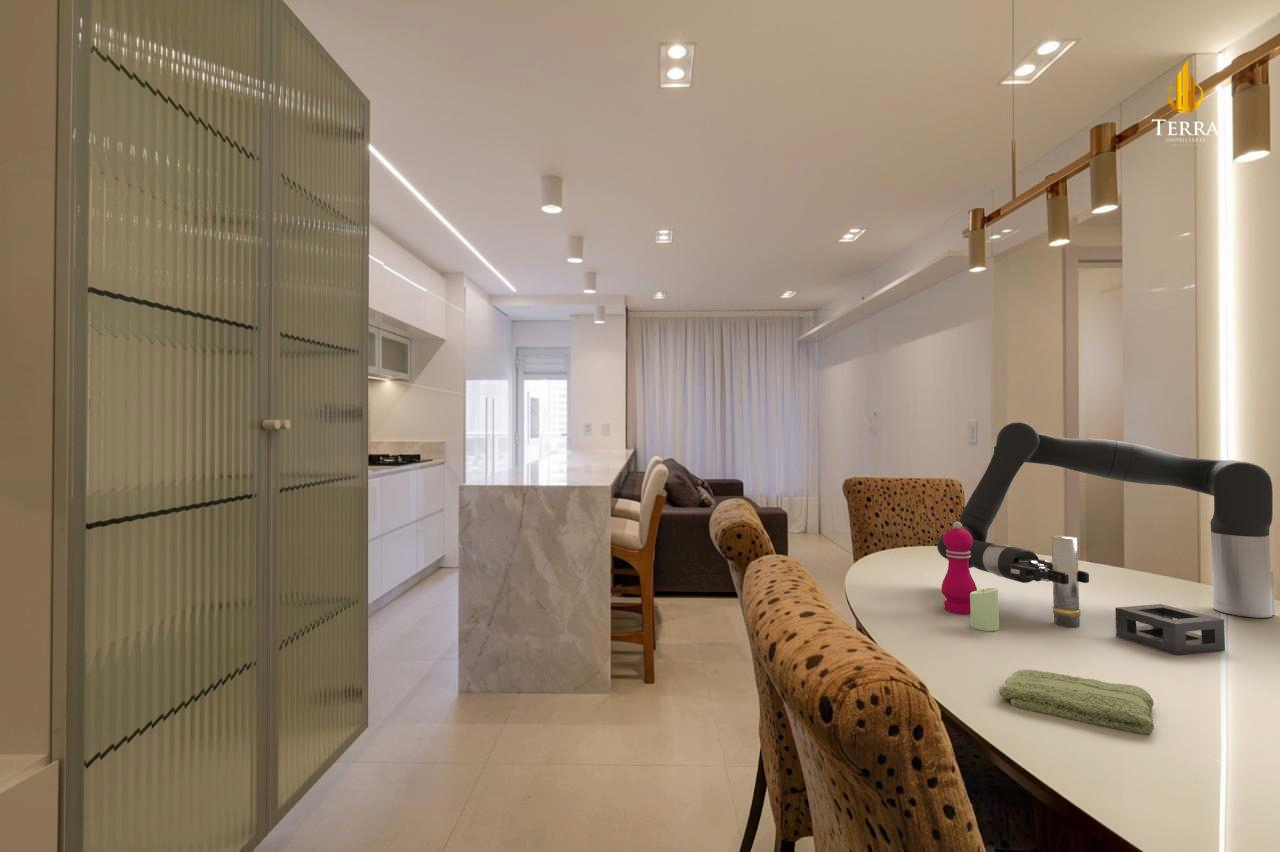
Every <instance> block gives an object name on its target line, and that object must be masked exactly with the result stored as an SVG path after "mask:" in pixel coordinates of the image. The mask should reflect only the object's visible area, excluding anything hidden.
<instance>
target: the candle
mask: <svg viewBox="0 0 1280 852" xmlns="http://www.w3.org/2000/svg"><path fill="white" fill-rule="evenodd" d="M970 613H971V614H970V627H972V628H973V629H975V630H979V631H983V632H996V631H999V627H1000V626H999V625H1000V624H999V622H1000V621H999V619H1000V617H999V589H998V588H996V587H993V588H991V587H990V588H984V589H977V591H974V592H971V593H970Z"/></svg>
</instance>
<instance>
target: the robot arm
mask: <svg viewBox="0 0 1280 852" xmlns="http://www.w3.org/2000/svg"><path fill="white" fill-rule="evenodd" d="M995 444H996V445H995V448H994V451H993V454H992V457H991V459H990V461H989V463H988V465H987V468H986V470H985V472H984V474H983V475H982V478H980V481H979V482H978V484H977V486H976V487H975V489H974V490H973V492H972V493H971V496H970V497H969V499H968V501H967V503H966V504H965V507H964V508H963V510H962V512H961V514H960V516H959V518H958V522H960V523H961V524H962V528H964V530H966V531H968V532H969V533H970V534H971V536H972V538H973V545H972V547H971V548H970V549H969V551H970V552H971V553H970V555H971V557H970V558H969V569H971V568H975V569H978V570H980V571H982V572H987V573H989V574H992V575H995V576H997V577H1001V578H1005V579H1007V580H1011V581H1013V582H1014V581H1015V582H1019V583H1024V584H1028V583H1031V582H1032V581H1035V582H1042V581H1043V582H1047V583H1048V582H1052V583H1053V582H1056V583H1060V584H1068V583H1069V576H1068V574H1067V573H1063V572H1058V571H1054V570H1052V561H1049V560H1047V559H1041V558H1039V557H1038V555H1037V554H1036V553H1035V552H1034V551H1032V550H1030V549H1026V548H1023V547H1017V546H1013V545H1008V544H1007V545H1006V544H998V543H993V542H987V538H988V532H989V529H990V527H991V525H992V524H993V523H994V520H995V518H996V516H997V514H998V512H999V511H1000V508H1001V507H1002V504H1003V502H1004V499H1005V498H1006V495H1007V492H1008V490H1009V488H1010V486H1011V484H1012V482H1013V481H1014V479H1015V477H1016V475H1017V474H1018V473H1019V470H1020V469H1021V467H1022V466H1023V465H1024V464H1025V463H1028V464H1039V465H1040V464H1041V465H1049V466H1054V467H1059V468H1063V469H1068V470H1070V471H1074V472H1079V473H1084V474H1088V475H1092V476H1097V477H1100V478H1105V479H1111V480H1116V481H1122V482H1128V483H1134V484H1141V485H1142V484H1143V485H1156V486H1157V485H1158V486H1170V487H1177V488H1181V489H1186V490H1191V491H1193V492H1194V491H1195V492H1198V493H1202V494H1206V495H1209V496H1212V497H1213V515H1212V518H1211V520H1210V522H1209V523H1210V544H1211V545H1210V547H1211V548H1210V549H1211V572H1212V573H1211V574H1212V576H1211V577H1212V600H1213V601H1212V604H1213V607H1212V608H1213V609H1214V610H1216V611H1218V612H1221V613H1224V614H1229V615H1233V616H1239V617H1247V618H1262V619H1263V618H1264V619H1265V618H1272V617H1273V615H1275V614H1276V610H1275V606H1276V605H1275V585H1274V584H1275V582H1274V581H1275V580H1274V570H1272V567H1271V547H1270V545H1271V544H1270V527H1271V525H1272V522H1273V500H1274V499H1273V493H1274V492H1273V483H1272V482H1273V481H1272V478H1271V476H1270V473H1268V471H1266V470H1265V468H1263V467H1262V466H1261V465H1259V464H1256V463H1254V462H1250V461H1244V460H1234V459H1233V460H1232V459H1229V460H1228V459H1226V460H1224V459H1211V458H1201V457H1191V456H1184V455H1179V454H1175V453H1171V452H1169V451H1165V450H1162V449H1159V448H1154V447H1151V446H1147V445H1141V444H1138V443H1131V442H1127V441H1126V442H1125V441H1122V440H1121V441H1120V440H1113V439H1105V438H1065V437H1057V436H1052V435H1049V434H1044V433H1039V432H1038V431H1037V430H1036V428H1035V427H1034V426H1032V425H1031V424H1029V423H1027V422H1021V421H1016V422H1011V423H1009V424H1006V425H1005V426H1004V427H1003V428H1001V429H1000V430H999V432H998V434H997V437H996V443H995ZM943 536H944V534H943V535H941V536H940V538H939V539H938V541H937V542H936V543H937V544H936V547H937V551H938V553H939V555H940V556H942V557H943V559H946V560H947V561H948V556H946V554H947V553H946V550H947V549H948V548H947V547H946V545H945V544H944V542H943ZM1078 582H1079V583H1082V584H1089V583H1090V574H1089V572H1088V571H1084V570H1079V569H1078Z"/></svg>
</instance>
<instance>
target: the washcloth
mask: <svg viewBox="0 0 1280 852" xmlns="http://www.w3.org/2000/svg"><path fill="white" fill-rule="evenodd" d="M998 691H999V692H998V693H999V696H1001V697H1003V698H1005V700H1006V699H1007V700H1008V699H1009V700H1010V706H1011V707H1013V708H1016V709H1022V710H1025V711H1031V712H1036V713H1039V714H1040V713H1041V714H1044V715H1049V716H1055V717H1059V718H1062V719H1068V720H1073V721H1076V722H1082V723H1085V724H1090V725H1096V726H1100V727H1106V728H1111V729H1115V730H1119V731H1124V732H1130V733H1133V734H1138V735H1147V734H1152V732H1153V730H1154V729H1155V724H1154V720H1153V718H1154V717H1153V715H1152V710H1153V706H1154V704H1155V703H1154V699H1153V698H1152V696H1151V694H1150V693H1149V692H1148V691H1147V690H1146V689H1144V688H1142V687H1140V686H1137V685H1135V684H1125V683H1111V682H1106V681H1101V680H1098V679H1094V678H1084V677H1082V676H1073V675H1066V674H1060V673H1056V672H1053V673H1052V672H1050V671H1042V670H1036V669H1018V670H1017V671H1014V672H1013V673H1012V675H1010V676H1009V677H1007V678H1006V679H1005V683H1004V685H1002V686H1000V687H999V689H998Z"/></svg>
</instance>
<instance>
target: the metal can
mask: <svg viewBox="0 0 1280 852" xmlns="http://www.w3.org/2000/svg"><path fill="white" fill-rule="evenodd" d="M1078 551H1079V549H1078V537H1075V536H1069V535H1052V536H1051V562H1052V570H1054V571H1058V572H1063V573H1067V574H1068V576H1069V583H1068V584H1060V583H1056V582H1053V581H1052V599H1053V601H1052V602H1053V604H1052V613H1053V623H1054V624H1055V625H1057V626H1060V627H1065V628H1079V627H1080V625H1081V624H1080V623H1081V622H1080V617H1081V610H1080V592H1079V591H1080V589H1079V583H1080V582H1078V570H1079V558H1078V557H1079V556H1078V555H1079V554H1078V553H1079V552H1078Z"/></svg>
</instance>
